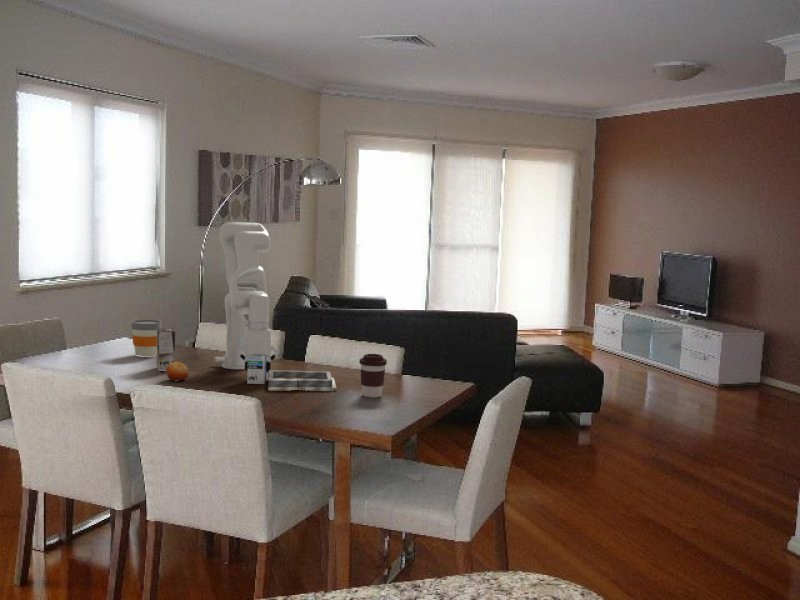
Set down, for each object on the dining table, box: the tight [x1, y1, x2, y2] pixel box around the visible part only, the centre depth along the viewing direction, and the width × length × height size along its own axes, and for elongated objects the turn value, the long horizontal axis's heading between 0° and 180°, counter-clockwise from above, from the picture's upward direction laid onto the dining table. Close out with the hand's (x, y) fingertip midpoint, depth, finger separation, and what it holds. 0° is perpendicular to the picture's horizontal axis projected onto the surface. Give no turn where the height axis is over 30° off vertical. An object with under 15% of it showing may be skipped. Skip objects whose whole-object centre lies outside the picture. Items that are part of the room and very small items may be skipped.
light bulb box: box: [246, 355, 269, 385], centre depth 310 cm, size 11×7×11 cm, turn 3°
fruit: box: [165, 361, 189, 381], centre depth 306 cm, size 8×8×8 cm
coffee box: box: [156, 327, 176, 371], centre depth 324 cm, size 9×6×16 cm
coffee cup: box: [359, 353, 388, 399], centre depth 294 cm, size 10×10×15 cm
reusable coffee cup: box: [131, 319, 163, 356], centre depth 350 cm, size 13×12×15 cm
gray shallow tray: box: [267, 369, 337, 392], centre depth 307 cm, size 25×18×4 cm
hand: (257, 371), depth 310 cm, fingers closed on light bulb box, 7 cm apart
